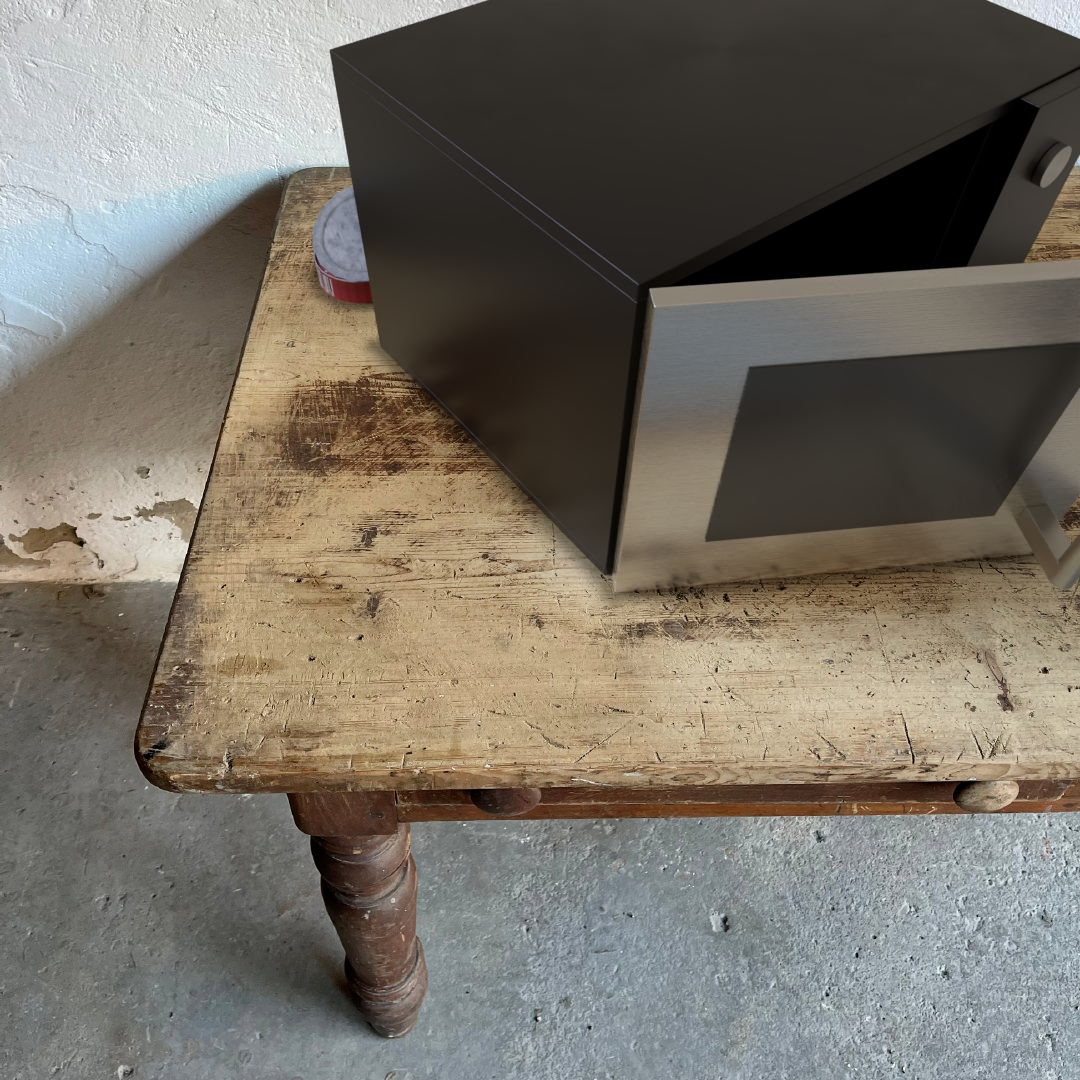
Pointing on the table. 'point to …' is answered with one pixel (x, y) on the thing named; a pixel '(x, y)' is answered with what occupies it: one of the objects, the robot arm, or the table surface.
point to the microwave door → (854, 425)
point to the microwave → (671, 188)
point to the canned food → (341, 250)
